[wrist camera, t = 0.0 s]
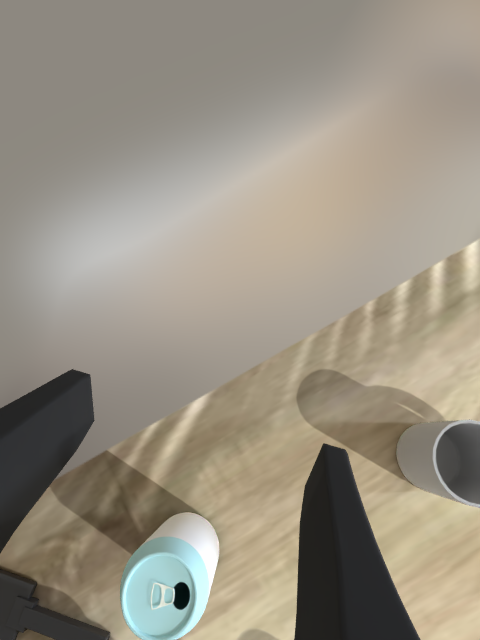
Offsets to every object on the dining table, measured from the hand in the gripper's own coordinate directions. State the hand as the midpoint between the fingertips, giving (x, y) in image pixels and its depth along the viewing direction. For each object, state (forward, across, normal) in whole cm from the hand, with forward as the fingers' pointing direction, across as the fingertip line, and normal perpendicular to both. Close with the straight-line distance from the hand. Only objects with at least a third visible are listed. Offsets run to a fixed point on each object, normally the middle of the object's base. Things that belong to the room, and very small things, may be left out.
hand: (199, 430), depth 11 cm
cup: (+24, -22, +22) cm, 39 cm away
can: (+12, +2, +33) cm, 35 cm away
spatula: (+4, +16, +39) cm, 43 cm away
